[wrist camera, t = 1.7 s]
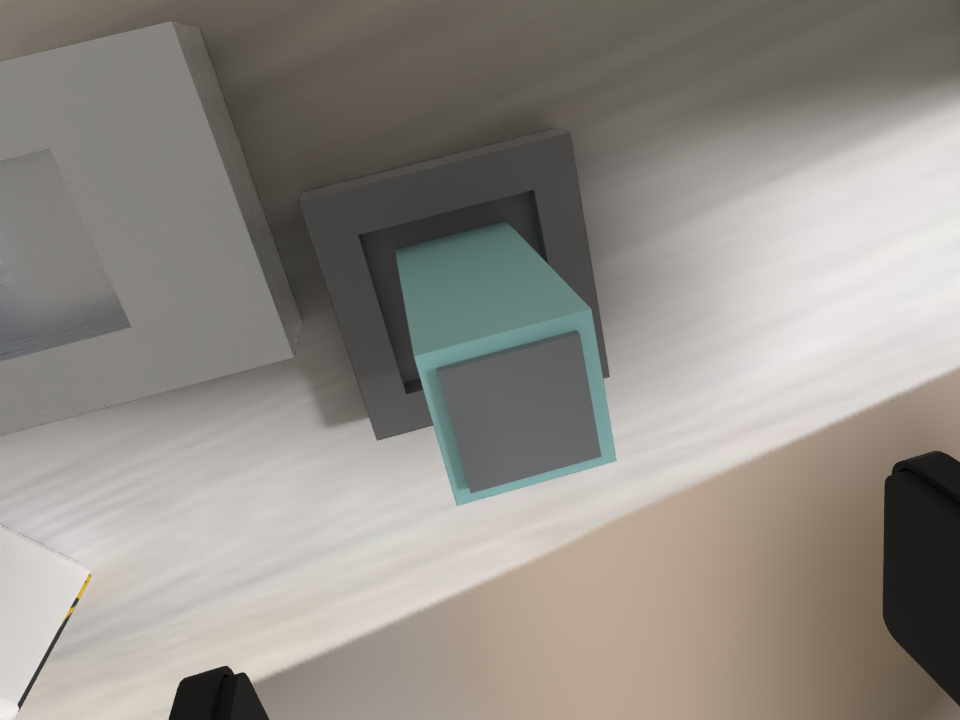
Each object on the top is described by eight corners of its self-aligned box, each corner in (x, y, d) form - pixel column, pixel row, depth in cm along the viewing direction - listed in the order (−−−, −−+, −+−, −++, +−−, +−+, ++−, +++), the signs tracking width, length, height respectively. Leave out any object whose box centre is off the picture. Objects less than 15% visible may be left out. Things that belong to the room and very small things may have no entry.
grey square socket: (554, 128, 24) (570, 132, 23) (593, 357, 28) (609, 376, 26) (303, 191, 24) (298, 201, 22) (376, 416, 28) (377, 440, 26)
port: (199, 28, 22) (169, 20, 18) (302, 322, 26) (293, 360, 22) (-262, 138, 21) (-382, 151, 18) (-81, 423, 25) (-151, 478, 22)
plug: (505, 220, 24) (594, 312, 15) (527, 324, 26) (620, 466, 17) (394, 249, 24) (414, 360, 15) (423, 352, 26) (458, 512, 16)
